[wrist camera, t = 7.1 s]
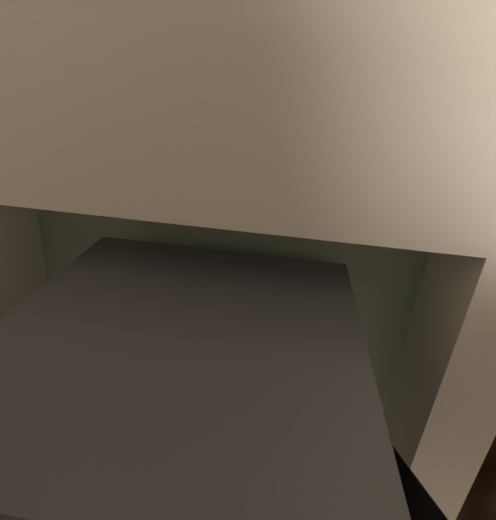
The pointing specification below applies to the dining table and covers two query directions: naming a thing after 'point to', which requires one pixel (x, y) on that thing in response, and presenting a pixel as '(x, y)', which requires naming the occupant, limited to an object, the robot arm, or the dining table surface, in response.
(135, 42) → the white grey flat device
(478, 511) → the dining table surface
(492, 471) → the dining table surface
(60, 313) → the block
